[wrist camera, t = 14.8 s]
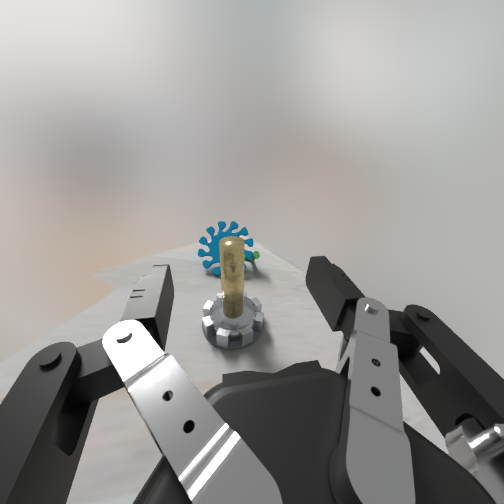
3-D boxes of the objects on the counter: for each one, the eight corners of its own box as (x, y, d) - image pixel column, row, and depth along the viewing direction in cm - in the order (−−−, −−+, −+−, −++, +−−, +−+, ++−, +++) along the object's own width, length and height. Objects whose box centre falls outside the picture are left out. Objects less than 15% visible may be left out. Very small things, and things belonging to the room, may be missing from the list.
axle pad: (254, 356, 25) (254, 355, 25) (191, 340, 26) (190, 338, 26) (268, 307, 31) (268, 305, 31) (216, 296, 33) (216, 294, 33)
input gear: (254, 354, 25) (259, 269, 18) (192, 338, 26) (178, 254, 20) (267, 307, 31) (274, 231, 25) (217, 296, 33) (212, 222, 26)
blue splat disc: (187, 264, 37) (209, 212, 39) (199, 269, 43) (217, 224, 45) (247, 285, 35) (267, 230, 37) (251, 288, 41) (268, 240, 43)
